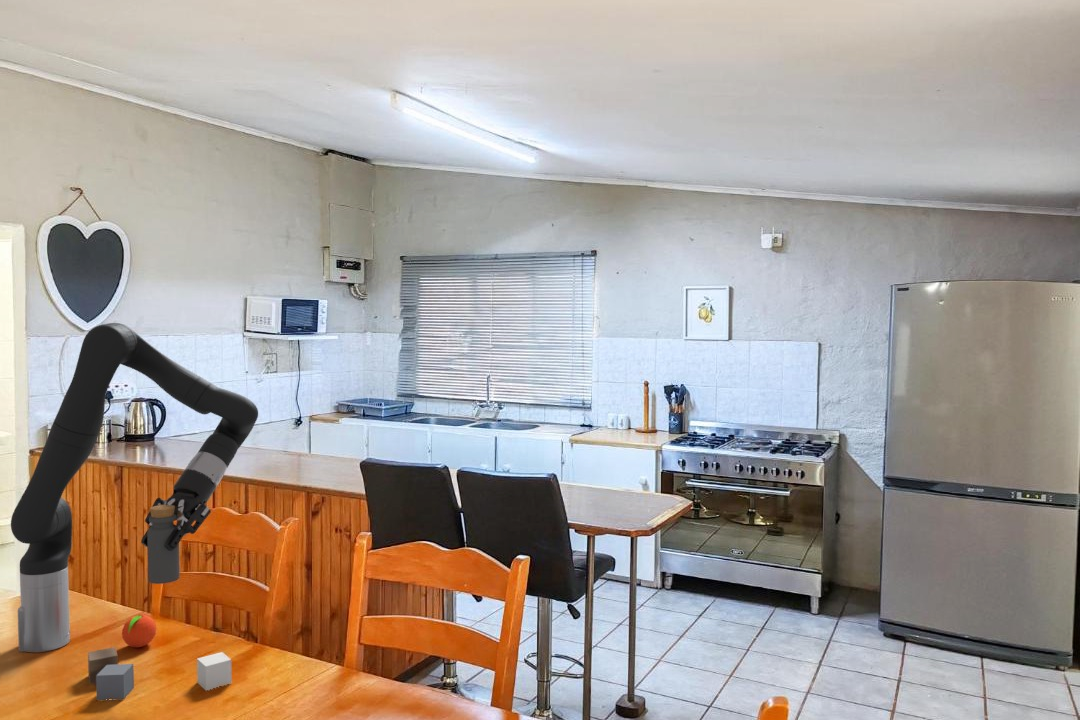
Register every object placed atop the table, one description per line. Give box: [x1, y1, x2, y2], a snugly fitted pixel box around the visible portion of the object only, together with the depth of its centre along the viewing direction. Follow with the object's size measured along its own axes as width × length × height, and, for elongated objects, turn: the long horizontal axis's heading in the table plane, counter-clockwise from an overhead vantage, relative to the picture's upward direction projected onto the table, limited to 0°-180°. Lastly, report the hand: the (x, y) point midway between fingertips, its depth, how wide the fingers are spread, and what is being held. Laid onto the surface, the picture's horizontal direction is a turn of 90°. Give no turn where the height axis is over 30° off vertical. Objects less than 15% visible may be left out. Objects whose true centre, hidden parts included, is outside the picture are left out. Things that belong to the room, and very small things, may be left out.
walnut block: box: [87, 646, 119, 686], centre depth 168 cm, size 5×5×5 cm
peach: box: [121, 614, 157, 648], centre depth 183 cm, size 8×7×7 cm
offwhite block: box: [196, 651, 232, 692], centre depth 165 cm, size 5×5×5 cm
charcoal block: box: [95, 663, 135, 701], centre depth 160 cm, size 5×5×5 cm
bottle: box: [146, 505, 181, 585], centre depth 168 cm, size 6×6×15 cm
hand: (156, 546), depth 167 cm, fingers closed on bottle, 5 cm apart
